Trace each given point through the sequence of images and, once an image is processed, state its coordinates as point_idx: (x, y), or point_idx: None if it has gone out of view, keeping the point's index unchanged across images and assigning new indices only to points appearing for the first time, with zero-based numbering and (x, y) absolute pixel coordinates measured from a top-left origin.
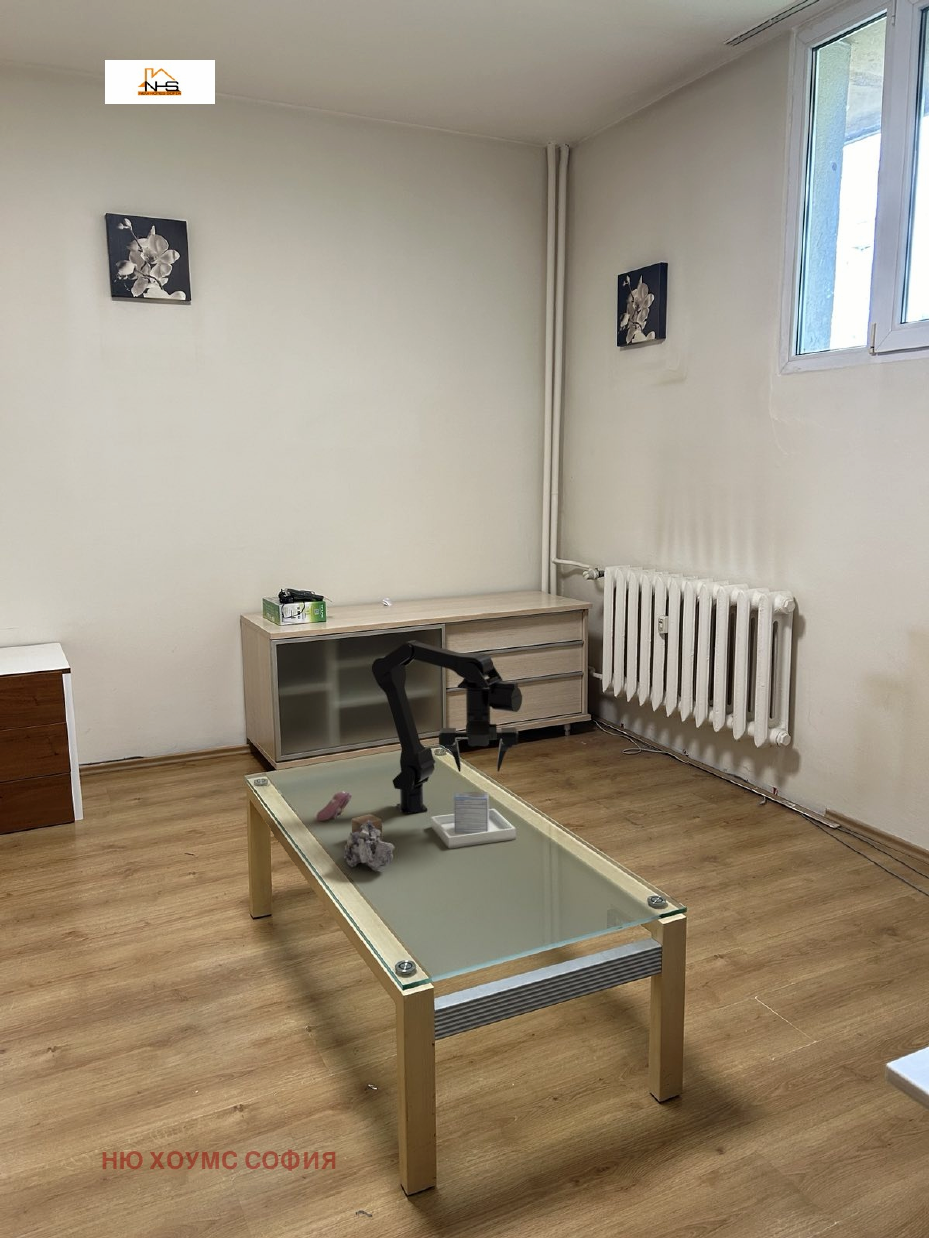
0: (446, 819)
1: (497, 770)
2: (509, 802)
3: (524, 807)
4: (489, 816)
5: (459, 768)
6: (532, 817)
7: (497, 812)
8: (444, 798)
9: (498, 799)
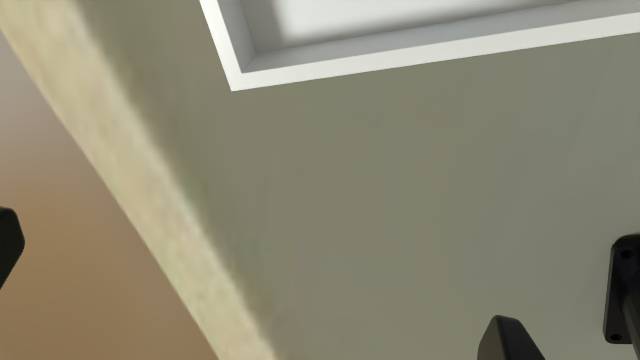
0: (599, 6)
1: (3, 213)
2: (174, 244)
3: (101, 176)
4: (275, 52)
5: (518, 349)
6: (41, 37)
7: (210, 14)
8: (464, 348)
9: (223, 283)
